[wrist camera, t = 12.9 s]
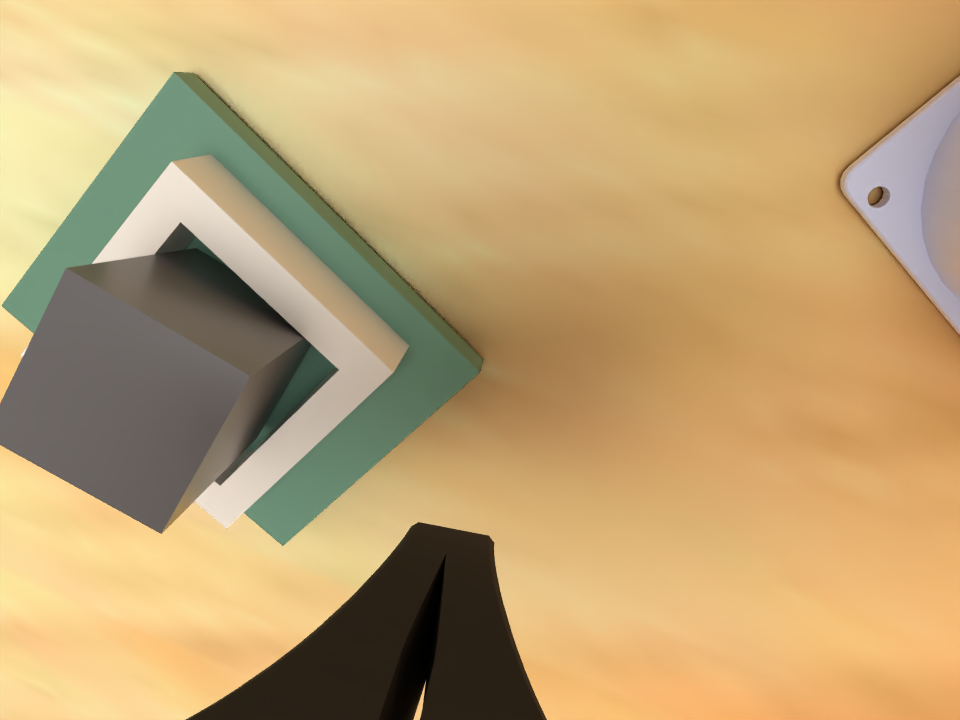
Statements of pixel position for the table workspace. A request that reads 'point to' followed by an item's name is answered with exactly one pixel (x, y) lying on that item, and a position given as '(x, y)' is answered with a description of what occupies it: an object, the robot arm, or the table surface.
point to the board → (122, 185)
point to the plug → (148, 380)
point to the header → (287, 289)
